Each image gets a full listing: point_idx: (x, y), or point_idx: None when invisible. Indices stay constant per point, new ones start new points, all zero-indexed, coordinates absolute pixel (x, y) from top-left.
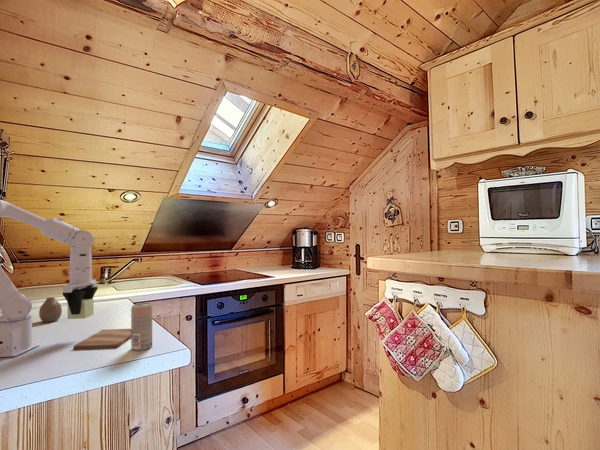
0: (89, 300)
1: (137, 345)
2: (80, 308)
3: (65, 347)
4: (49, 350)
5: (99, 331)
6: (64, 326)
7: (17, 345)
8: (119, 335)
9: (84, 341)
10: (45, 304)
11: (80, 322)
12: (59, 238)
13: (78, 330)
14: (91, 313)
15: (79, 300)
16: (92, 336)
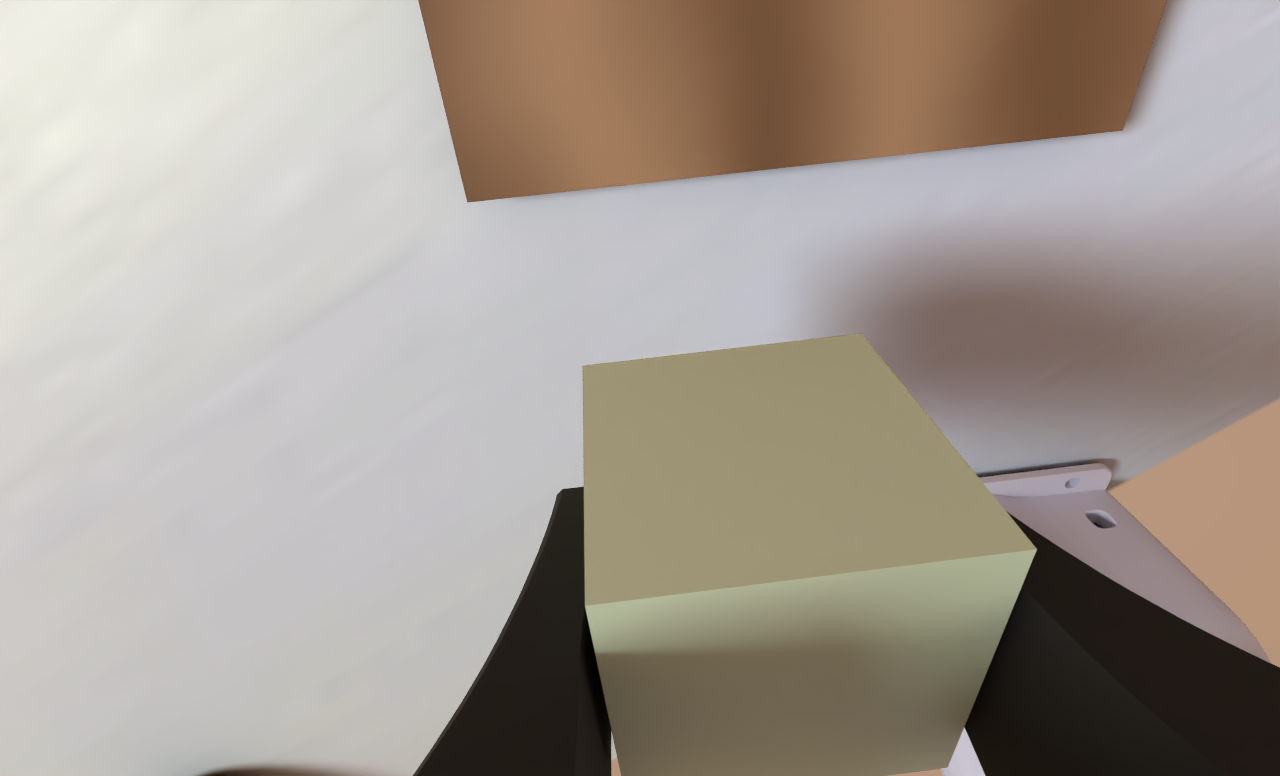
0: (797, 575)
1: None
2: None
3: (977, 257)
4: (1021, 339)
5: (549, 190)
6: (326, 655)
7: (1089, 532)
8: None
9: (983, 102)
10: None
11: (169, 631)
12: None
13: (417, 493)
14: (654, 375)
15: (1204, 632)
16: (773, 139)
